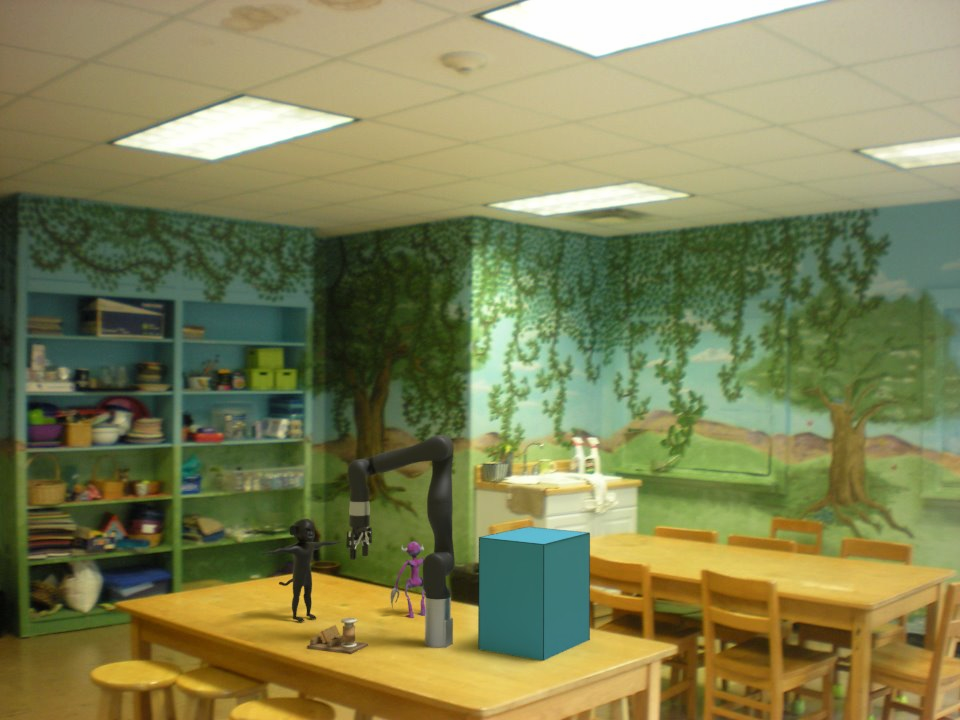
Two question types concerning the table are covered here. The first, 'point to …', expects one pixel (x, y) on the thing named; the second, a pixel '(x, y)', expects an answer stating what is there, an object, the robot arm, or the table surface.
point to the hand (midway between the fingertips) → (359, 557)
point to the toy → (415, 580)
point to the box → (534, 592)
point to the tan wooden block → (329, 634)
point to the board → (340, 640)
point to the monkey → (302, 562)
